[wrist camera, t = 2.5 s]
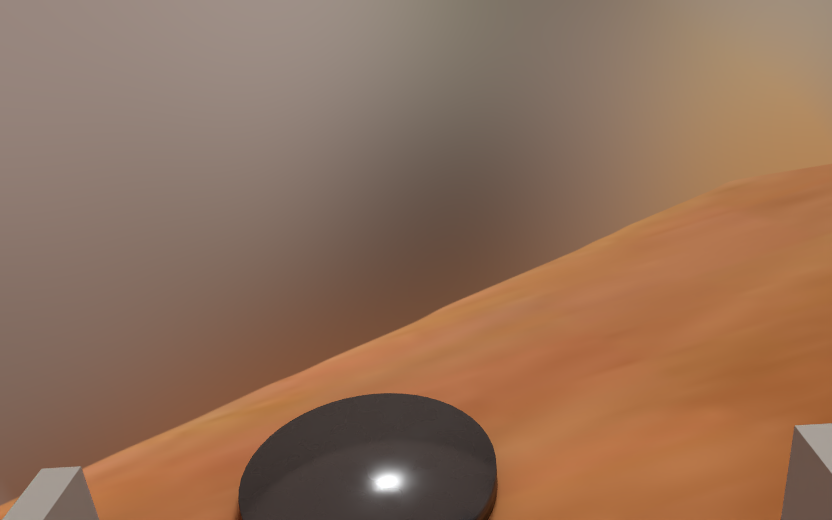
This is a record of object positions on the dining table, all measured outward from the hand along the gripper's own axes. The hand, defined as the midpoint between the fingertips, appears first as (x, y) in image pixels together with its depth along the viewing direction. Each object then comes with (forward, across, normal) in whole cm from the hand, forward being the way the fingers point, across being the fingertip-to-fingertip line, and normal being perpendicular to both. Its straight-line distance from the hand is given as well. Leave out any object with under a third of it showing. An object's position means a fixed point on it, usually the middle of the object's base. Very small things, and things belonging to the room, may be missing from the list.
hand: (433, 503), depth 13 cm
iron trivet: (+27, -6, -22) cm, 36 cm away
